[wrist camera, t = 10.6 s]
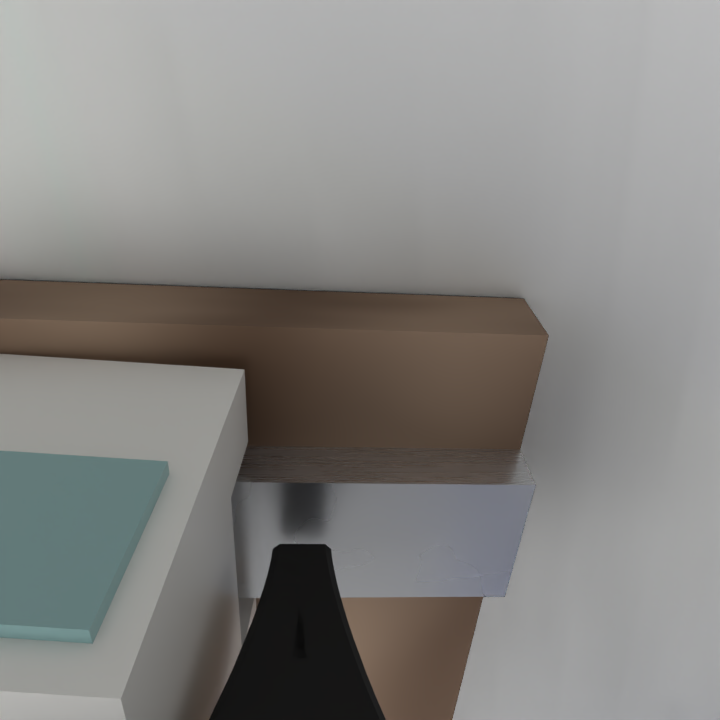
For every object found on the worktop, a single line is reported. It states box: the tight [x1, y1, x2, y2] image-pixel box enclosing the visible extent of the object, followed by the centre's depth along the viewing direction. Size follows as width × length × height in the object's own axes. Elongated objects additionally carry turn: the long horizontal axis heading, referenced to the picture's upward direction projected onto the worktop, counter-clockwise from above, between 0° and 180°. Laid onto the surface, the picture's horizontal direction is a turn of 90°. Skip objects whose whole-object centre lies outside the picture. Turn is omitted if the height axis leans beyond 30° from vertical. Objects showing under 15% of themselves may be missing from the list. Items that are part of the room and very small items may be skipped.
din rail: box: [231, 446, 536, 598], centre depth 10 cm, size 12×6×4 cm, turn 86°
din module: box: [0, 354, 256, 720], centre depth 9 cm, size 4×7×6 cm, turn 177°
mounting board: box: [0, 280, 549, 720], centre depth 15 cm, size 12×16×2 cm
